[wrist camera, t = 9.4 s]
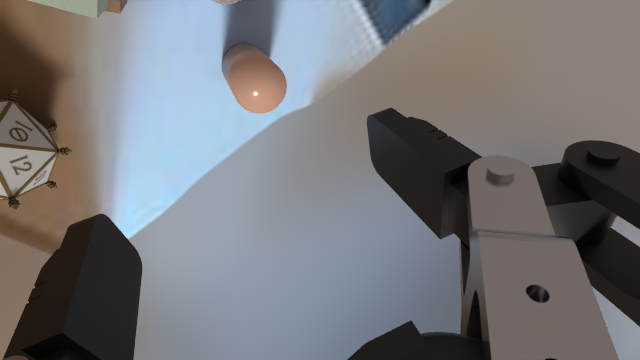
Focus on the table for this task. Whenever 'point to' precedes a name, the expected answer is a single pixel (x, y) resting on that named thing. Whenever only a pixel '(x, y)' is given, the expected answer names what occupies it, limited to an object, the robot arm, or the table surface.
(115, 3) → the walnut cube
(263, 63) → the terracotta cylinder
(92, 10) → the sage cube
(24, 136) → the white knobbed polyhedron
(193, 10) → the table surface
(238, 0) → the stone block
